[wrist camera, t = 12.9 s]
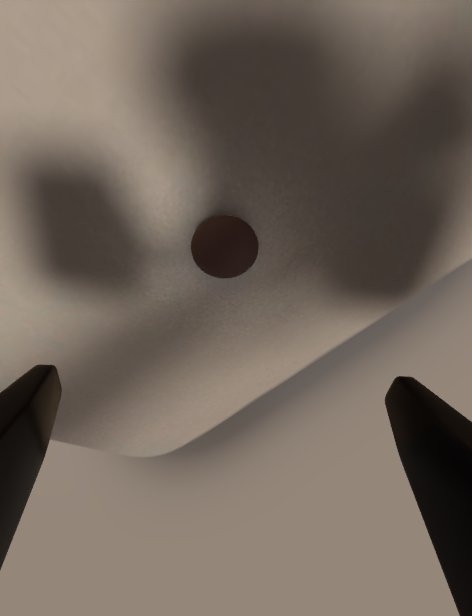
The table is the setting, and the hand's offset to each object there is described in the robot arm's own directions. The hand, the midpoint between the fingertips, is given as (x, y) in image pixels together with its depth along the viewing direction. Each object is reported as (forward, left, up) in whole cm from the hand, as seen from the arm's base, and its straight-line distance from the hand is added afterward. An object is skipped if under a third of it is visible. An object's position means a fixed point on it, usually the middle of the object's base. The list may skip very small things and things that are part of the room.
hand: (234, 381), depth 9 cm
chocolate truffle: (0, 0, -9) cm, 9 cm away
